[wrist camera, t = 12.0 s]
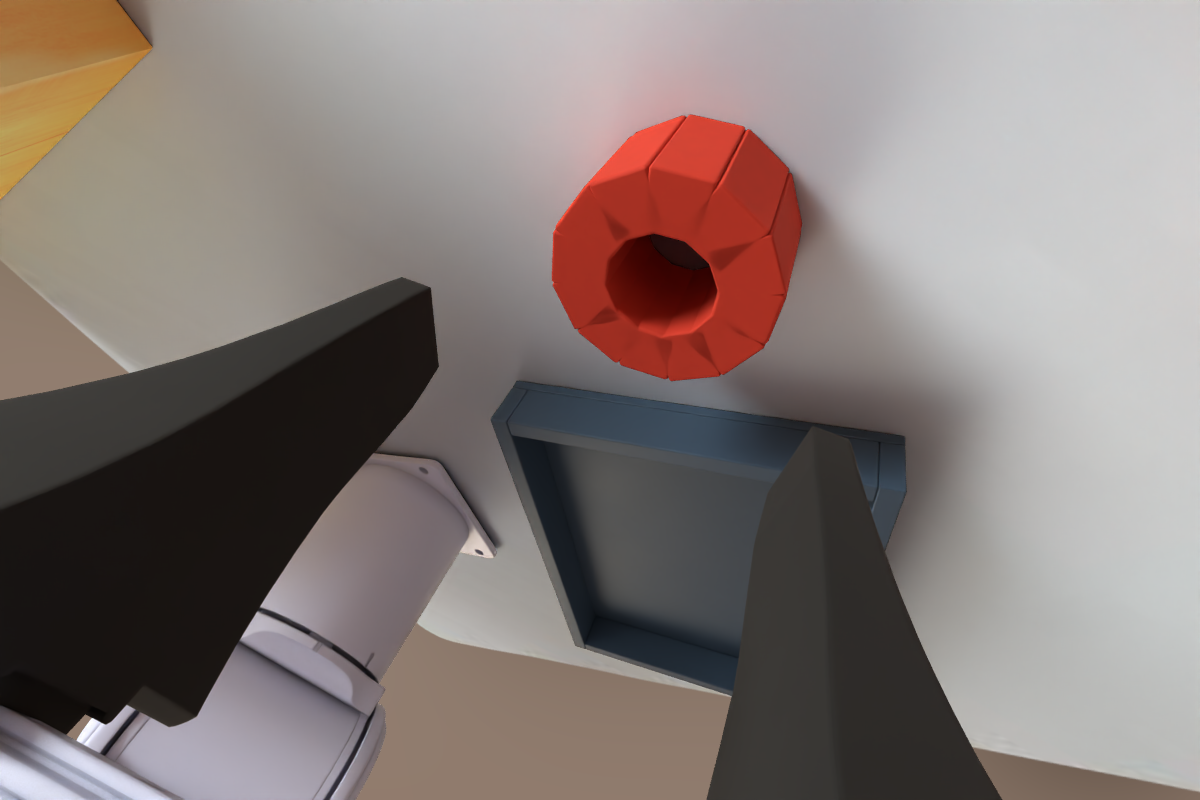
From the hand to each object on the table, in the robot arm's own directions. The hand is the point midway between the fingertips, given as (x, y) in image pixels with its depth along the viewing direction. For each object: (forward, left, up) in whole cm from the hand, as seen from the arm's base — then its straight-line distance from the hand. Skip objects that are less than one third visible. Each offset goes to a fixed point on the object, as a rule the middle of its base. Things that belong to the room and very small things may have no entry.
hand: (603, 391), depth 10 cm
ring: (0, 0, -7) cm, 7 cm away
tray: (-2, -15, -7) cm, 17 cm away
